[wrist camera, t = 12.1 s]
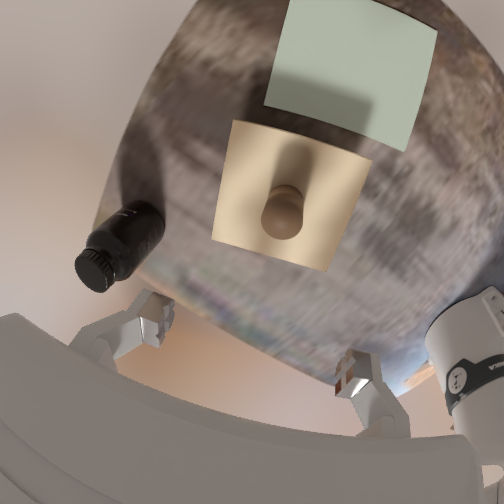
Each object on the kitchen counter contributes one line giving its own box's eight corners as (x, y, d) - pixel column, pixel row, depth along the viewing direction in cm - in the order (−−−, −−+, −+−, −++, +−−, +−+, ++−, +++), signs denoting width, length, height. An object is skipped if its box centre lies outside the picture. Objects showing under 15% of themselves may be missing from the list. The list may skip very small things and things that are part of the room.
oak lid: (370, 158, 21) (384, 174, 17) (325, 267, 28) (327, 298, 24) (235, 118, 22) (219, 125, 18) (213, 235, 28) (197, 261, 24)
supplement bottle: (138, 188, 32) (77, 235, 22) (175, 225, 34) (126, 284, 24) (115, 219, 36) (61, 268, 26) (148, 252, 38) (103, 309, 28)
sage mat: (435, 32, 16) (437, 31, 15) (403, 151, 24) (404, 152, 24) (296, -20, 16) (296, -21, 16) (264, 105, 25) (263, 105, 24)
